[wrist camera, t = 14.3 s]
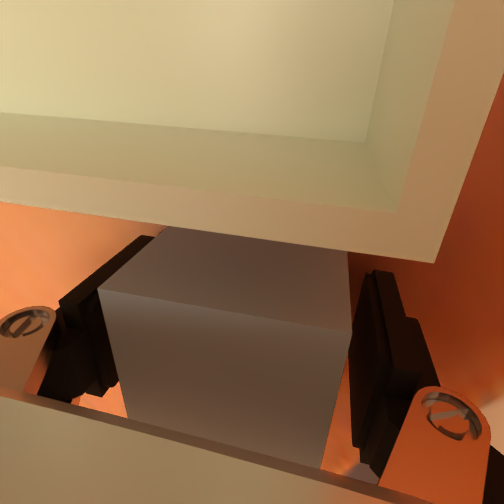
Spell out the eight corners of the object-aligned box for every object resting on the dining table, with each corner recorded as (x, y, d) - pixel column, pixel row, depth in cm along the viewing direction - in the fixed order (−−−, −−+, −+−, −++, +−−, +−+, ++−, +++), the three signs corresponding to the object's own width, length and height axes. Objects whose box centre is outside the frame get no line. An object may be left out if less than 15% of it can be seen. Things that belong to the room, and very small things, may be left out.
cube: (345, 222, 10) (352, 333, 6) (323, 344, 12) (315, 486, 8) (192, 204, 11) (97, 288, 7) (198, 321, 13) (132, 437, 9)
